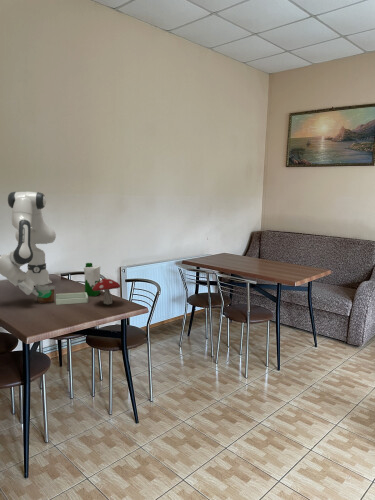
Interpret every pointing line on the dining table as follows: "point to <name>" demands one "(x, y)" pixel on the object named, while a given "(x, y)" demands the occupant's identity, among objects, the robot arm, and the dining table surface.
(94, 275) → the milk carton
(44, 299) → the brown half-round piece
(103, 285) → the decorative mushroom
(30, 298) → the dining table surface
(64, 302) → the pale green u-shaped frame
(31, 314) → the dining table surface
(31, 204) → the robot arm
